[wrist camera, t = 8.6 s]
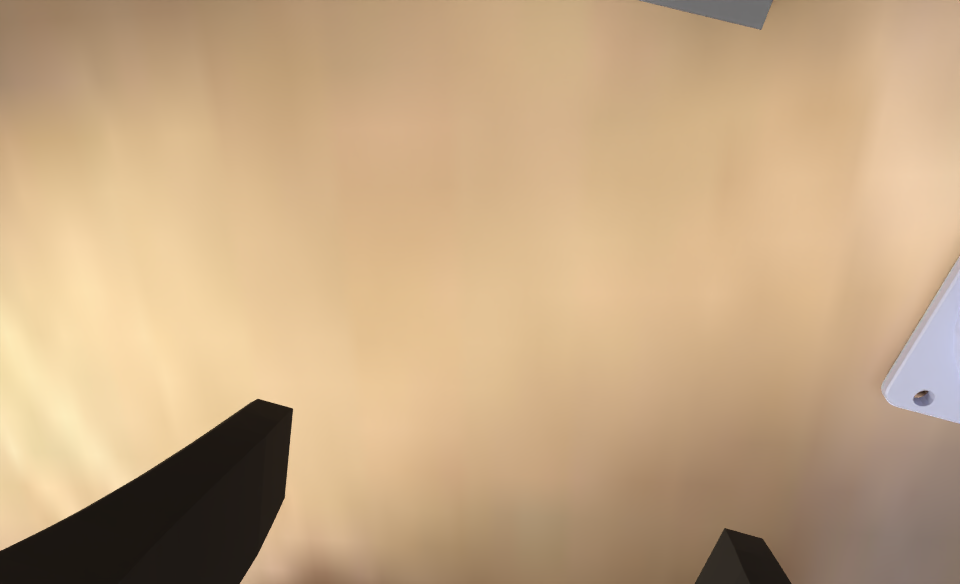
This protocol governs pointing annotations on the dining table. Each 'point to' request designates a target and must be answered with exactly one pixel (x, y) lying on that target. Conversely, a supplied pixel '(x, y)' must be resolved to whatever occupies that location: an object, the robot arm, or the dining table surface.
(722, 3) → the grey tray
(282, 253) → the dining table surface
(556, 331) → the dining table surface
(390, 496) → the dining table surface
